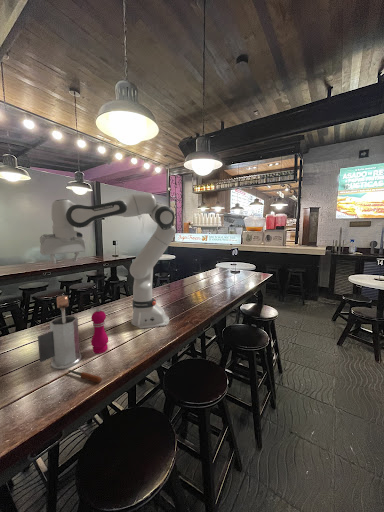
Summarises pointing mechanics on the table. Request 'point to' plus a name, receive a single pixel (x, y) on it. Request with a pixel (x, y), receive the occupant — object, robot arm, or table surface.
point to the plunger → (62, 306)
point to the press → (61, 343)
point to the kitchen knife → (87, 376)
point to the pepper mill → (99, 332)
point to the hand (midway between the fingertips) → (65, 262)
